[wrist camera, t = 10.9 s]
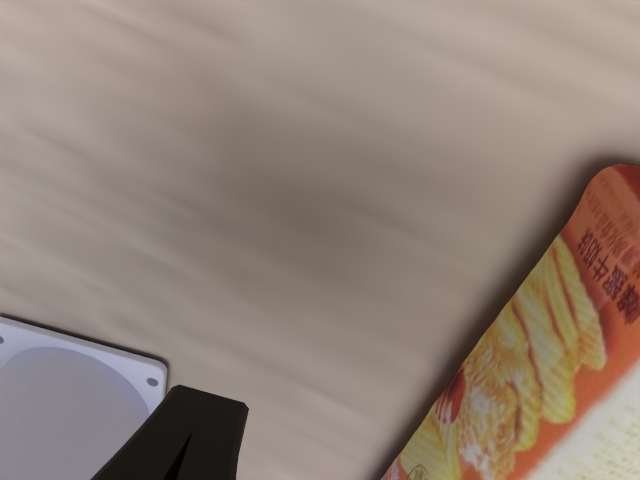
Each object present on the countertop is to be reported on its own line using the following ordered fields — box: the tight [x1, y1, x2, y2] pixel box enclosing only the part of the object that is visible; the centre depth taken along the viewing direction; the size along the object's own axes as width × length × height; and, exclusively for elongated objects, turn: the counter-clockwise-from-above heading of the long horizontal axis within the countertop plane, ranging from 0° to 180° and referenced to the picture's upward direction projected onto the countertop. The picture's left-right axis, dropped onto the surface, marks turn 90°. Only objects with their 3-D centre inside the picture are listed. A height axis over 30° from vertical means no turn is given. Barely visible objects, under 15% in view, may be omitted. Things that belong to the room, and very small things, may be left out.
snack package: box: [381, 164, 640, 480], centre depth 20 cm, size 22×7×7 cm, turn 160°
